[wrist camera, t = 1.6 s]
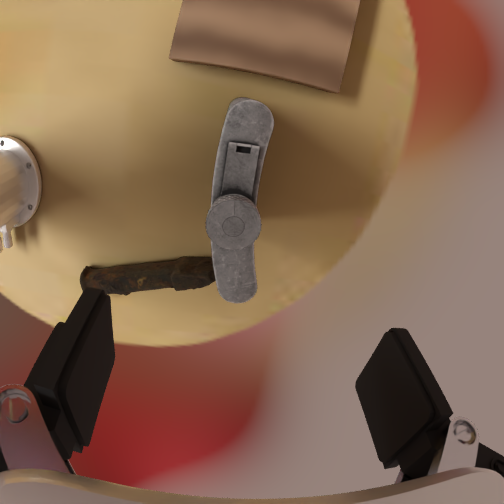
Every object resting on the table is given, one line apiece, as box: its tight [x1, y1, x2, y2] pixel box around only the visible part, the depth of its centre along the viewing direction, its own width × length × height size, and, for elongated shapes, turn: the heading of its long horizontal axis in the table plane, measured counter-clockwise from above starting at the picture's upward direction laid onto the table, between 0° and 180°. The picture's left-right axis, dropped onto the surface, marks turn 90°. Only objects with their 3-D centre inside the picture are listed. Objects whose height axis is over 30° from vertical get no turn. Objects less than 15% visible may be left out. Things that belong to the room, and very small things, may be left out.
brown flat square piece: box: [169, 0, 360, 93], centre depth 25 cm, size 16×17×3 cm
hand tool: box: [80, 257, 216, 295], centre depth 38 cm, size 19×4×5 cm, turn 94°
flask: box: [206, 97, 274, 303], centre depth 26 cm, size 4×14×18 cm, turn 175°
